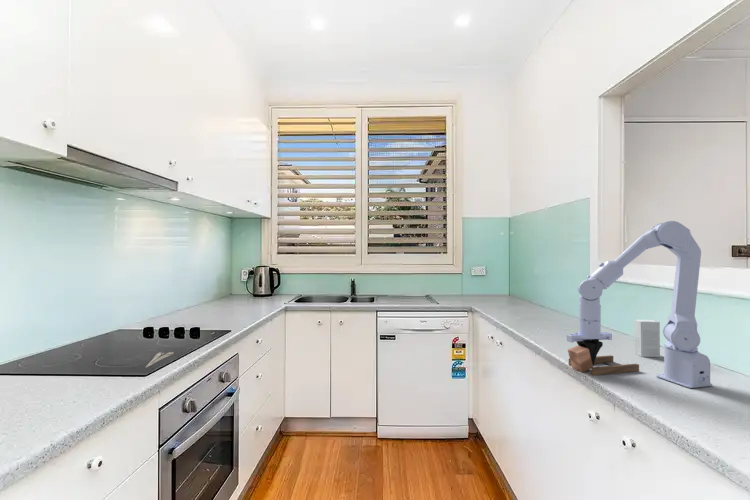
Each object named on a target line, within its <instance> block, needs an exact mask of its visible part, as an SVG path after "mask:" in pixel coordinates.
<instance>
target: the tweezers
mask: <svg viewBox="0 0 750 500" xmlns="http://www.w3.org/2000/svg"><path fill="white" fill-rule="evenodd" d="M173 355H174V352H172V351H171V352H167V353H165V352H158V353H156V354H155V356H154V357H153V358H152V360H150V362H149V363H148V364H147V365H146V366H145V368H148V367H150V366H152V365H154V364H156V363H157V362H160V361H161V360H163V359H165V358H167V357H170V356H173Z"/></svg>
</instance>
